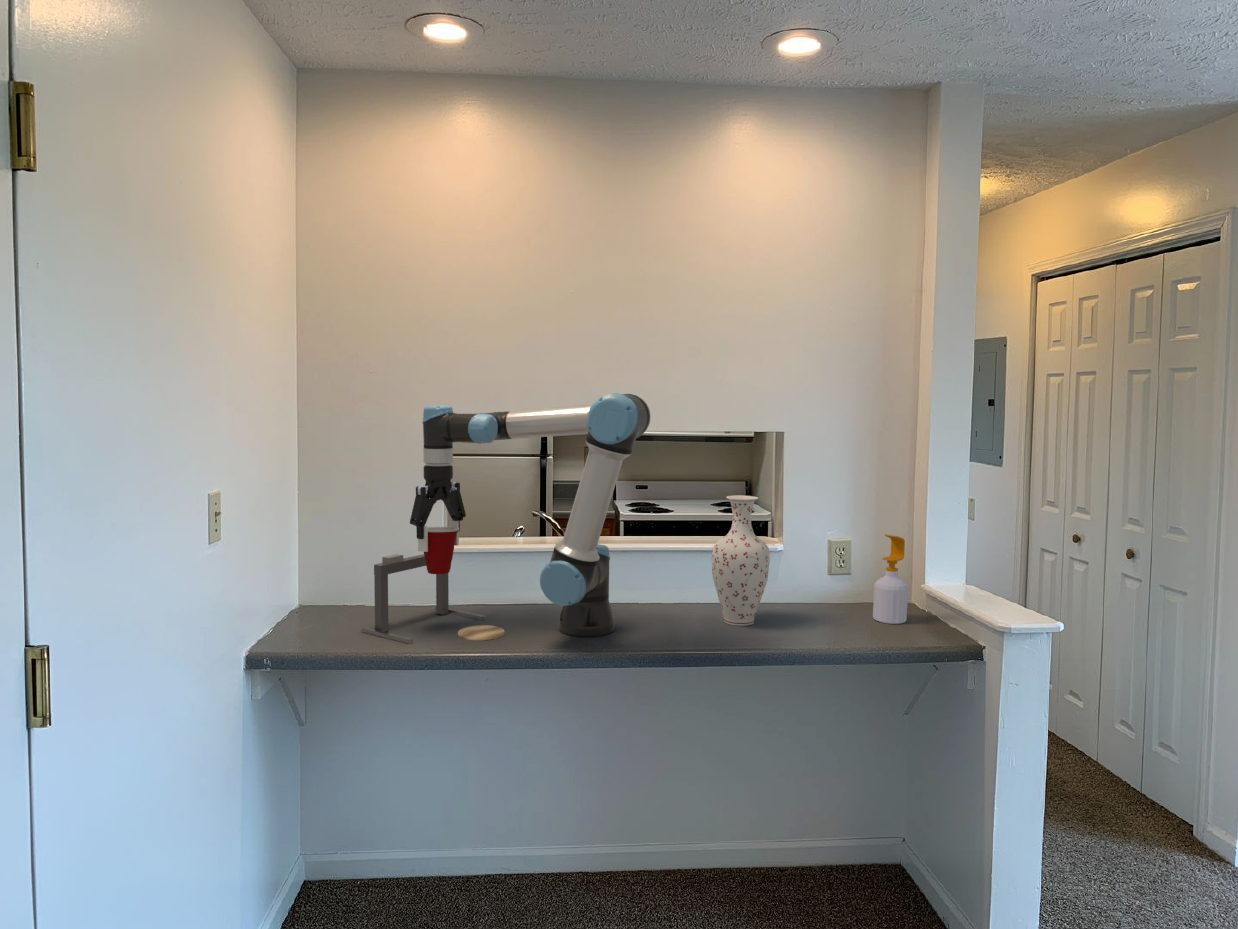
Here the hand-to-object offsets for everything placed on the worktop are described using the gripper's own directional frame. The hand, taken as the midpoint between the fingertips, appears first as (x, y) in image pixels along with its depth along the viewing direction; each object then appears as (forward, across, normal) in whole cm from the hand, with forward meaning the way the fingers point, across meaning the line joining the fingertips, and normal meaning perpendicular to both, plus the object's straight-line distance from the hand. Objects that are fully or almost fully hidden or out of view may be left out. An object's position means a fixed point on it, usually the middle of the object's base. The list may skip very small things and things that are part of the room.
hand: (438, 547), depth 226 cm
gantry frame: (+22, 0, -10) cm, 24 cm away
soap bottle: (+22, -81, +96) cm, 127 cm away
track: (+22, 0, -5) cm, 22 cm away
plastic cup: (+7, 0, 0) cm, 7 cm away
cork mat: (+22, -3, +12) cm, 25 cm away
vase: (+22, -54, +62) cm, 85 cm away
